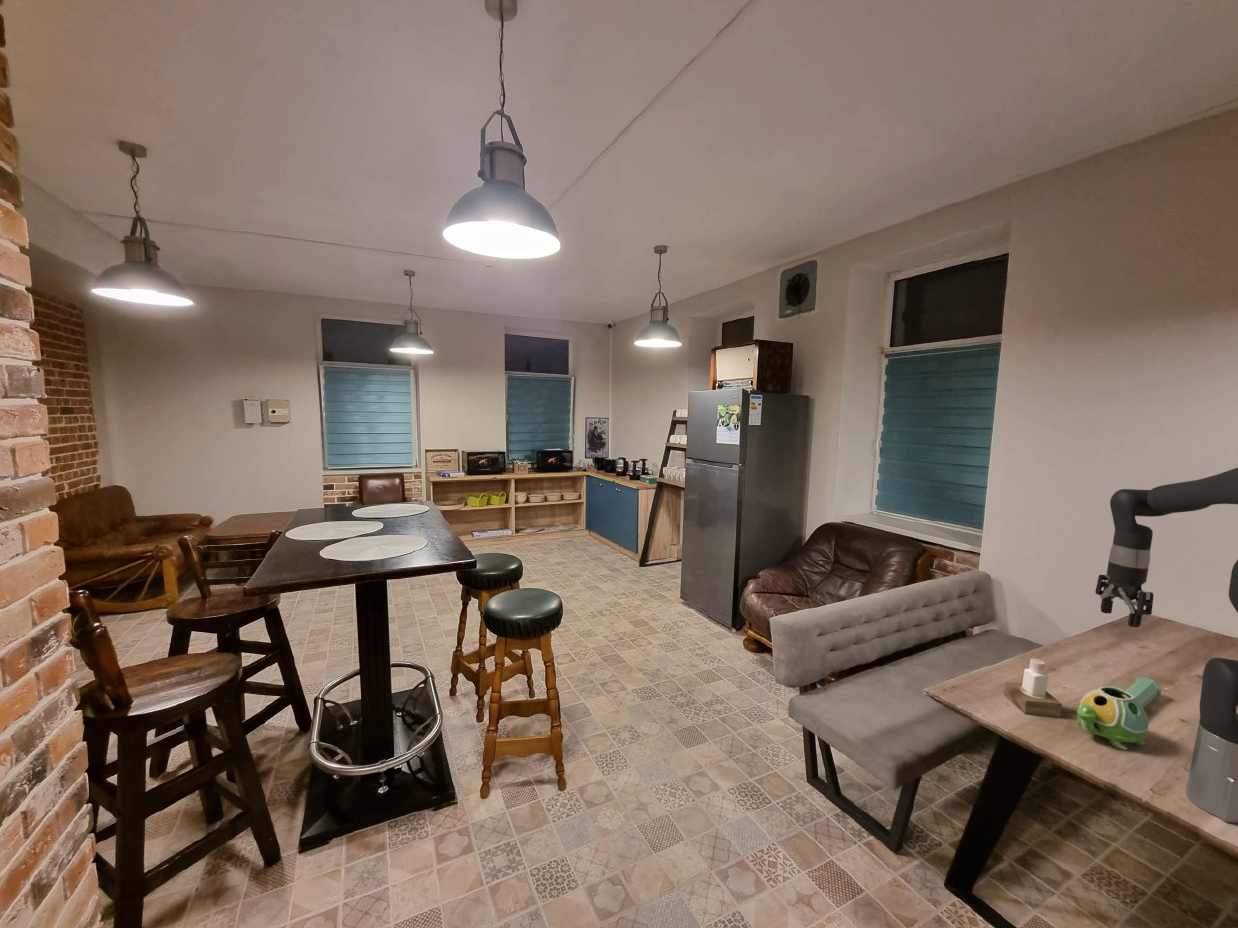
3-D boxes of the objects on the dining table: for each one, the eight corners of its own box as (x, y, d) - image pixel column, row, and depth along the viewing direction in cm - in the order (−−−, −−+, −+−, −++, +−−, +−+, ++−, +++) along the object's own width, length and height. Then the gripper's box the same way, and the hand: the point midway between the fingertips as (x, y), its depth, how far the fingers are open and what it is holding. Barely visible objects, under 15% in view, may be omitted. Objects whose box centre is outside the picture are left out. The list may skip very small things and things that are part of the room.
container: (1127, 704, 133) (1157, 677, 145) (1099, 700, 138) (1130, 675, 150) (1136, 727, 131) (1165, 698, 144) (1107, 723, 136) (1138, 695, 149)
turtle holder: (1050, 724, 133) (1056, 683, 131) (1102, 716, 137) (1108, 676, 135) (1103, 756, 121) (1110, 712, 119) (1158, 747, 125) (1166, 704, 123)
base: (1060, 716, 136) (1062, 703, 135) (1024, 713, 137) (1026, 699, 136) (1036, 697, 145) (1038, 684, 144) (1003, 694, 146) (1005, 681, 145)
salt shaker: (1034, 688, 142) (1039, 657, 141) (1046, 696, 138) (1050, 665, 137) (1020, 687, 142) (1024, 657, 141) (1031, 696, 138) (1036, 664, 137)
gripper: (1170, 572, 124) (1159, 632, 126) (1120, 554, 138) (1111, 609, 140) (1137, 570, 125) (1126, 630, 127) (1091, 553, 139) (1082, 607, 141)
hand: (1119, 619), depth 134 cm, fingers open, 8 cm apart
